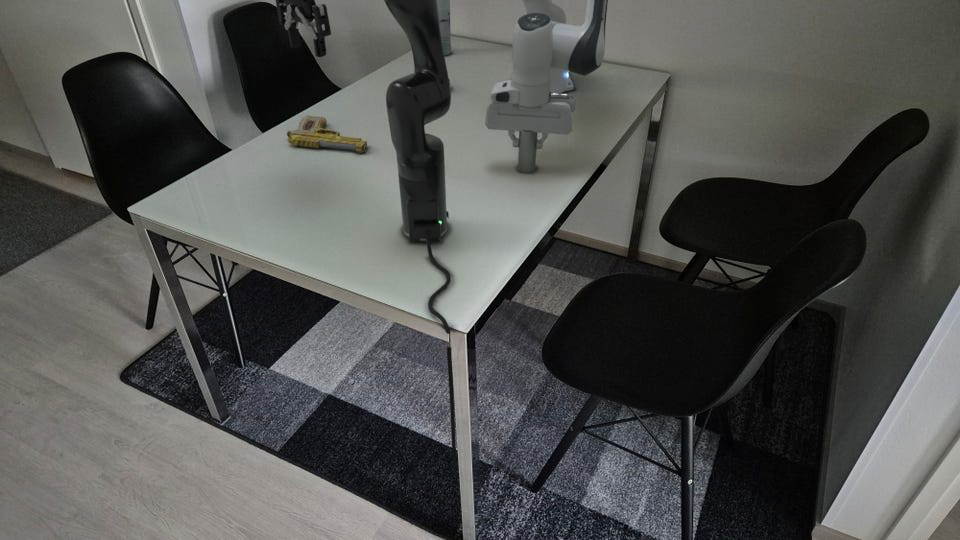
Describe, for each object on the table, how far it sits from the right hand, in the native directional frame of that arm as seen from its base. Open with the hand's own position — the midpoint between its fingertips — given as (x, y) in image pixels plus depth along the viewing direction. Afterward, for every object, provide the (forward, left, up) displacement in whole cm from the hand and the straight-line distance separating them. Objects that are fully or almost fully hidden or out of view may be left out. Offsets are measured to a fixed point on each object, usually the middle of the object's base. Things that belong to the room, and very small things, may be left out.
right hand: (527, 147), depth 150 cm
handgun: (-8, -52, -6) cm, 53 cm away
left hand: (+11, -46, +24) cm, 53 cm away
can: (0, 0, -6) cm, 6 cm away
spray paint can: (-78, -37, -6) cm, 86 cm away
